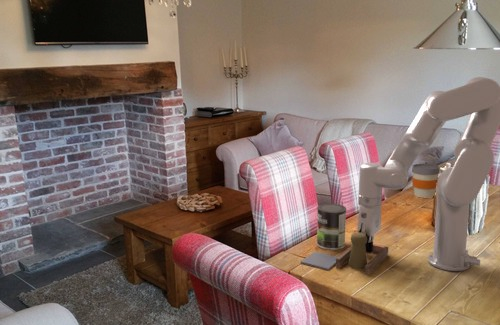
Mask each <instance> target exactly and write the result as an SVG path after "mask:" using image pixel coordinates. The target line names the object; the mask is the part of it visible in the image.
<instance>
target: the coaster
mask: <svg viewBox="0 0 500 325" xmlns="http://www.w3.org/2000/svg"><path fill="white" fill-rule="evenodd" d="M337 257H338V256H336V255H332V254H327V253H324V252H319V251H313V252H312V253H311V254H309V255H308V256H306V257H305V258H303V259H302V260H301V261H300V264H302V265H306V266H310V267H314V268H319V269H321V270H324V271H325V270H326V271H330V270H331V269H332V268H333V267H334V266H336V258H337Z"/></svg>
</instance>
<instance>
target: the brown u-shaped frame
mask: <svg viewBox="0 0 500 325" xmlns="http://www.w3.org/2000/svg"><path fill="white" fill-rule="evenodd" d="M351 248H352V245H350V246H349V247H348V248H347V249H346V250H344V251H343V252H342V253H341V254H340V255H338V256H336V257H337V258H336V264H335V267H336V268H337V269H340V268H342V266H344V265H345V264H346V263H347V262H349V259H350V254H351ZM370 254H375V255H374V257H372V258H371V259H370V260H369V261H368V262H367V265H365V269H364V276H370V275H371V274H372V273H373V272H374V270H376V268H377V267H379V266H380V264H382V262H383V261H384V260H385V259H386V258H387V257H388V256H389V246H386V245H380V244H375V243H373V251H372V252H371V253H370Z"/></svg>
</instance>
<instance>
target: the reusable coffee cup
mask: <svg viewBox="0 0 500 325" xmlns="http://www.w3.org/2000/svg"><path fill="white" fill-rule="evenodd" d="M411 168H412V169H411V172H412V177H411V178H412V179H411V182H412V183H411V184H412V187H413V193H414V194H413V195H415V196H418V197H424V198H427V197H433V196H434V197H435V194H436V193H435V192H436V190H437V188H436V183H437V179H438V178H439V174H440V166H438V165H437V164H436V165H435V164H430V163H416V164H412V167H411ZM415 196H414V197H415Z"/></svg>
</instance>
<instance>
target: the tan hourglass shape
mask: <svg viewBox="0 0 500 325" xmlns="http://www.w3.org/2000/svg"><path fill="white" fill-rule="evenodd" d="M350 243H351V246H352V248H351V254H350V259H349V260H348V267H349V268H351V269H353V270H359V271H363V270H365V265H367V264H368V257H367V256H368V255H367V253H366V246H365V244H366V243H367V236H366V235H365V234H364V233H359V232H358V231H357V232H354V233H352V234H351V235H350Z"/></svg>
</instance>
